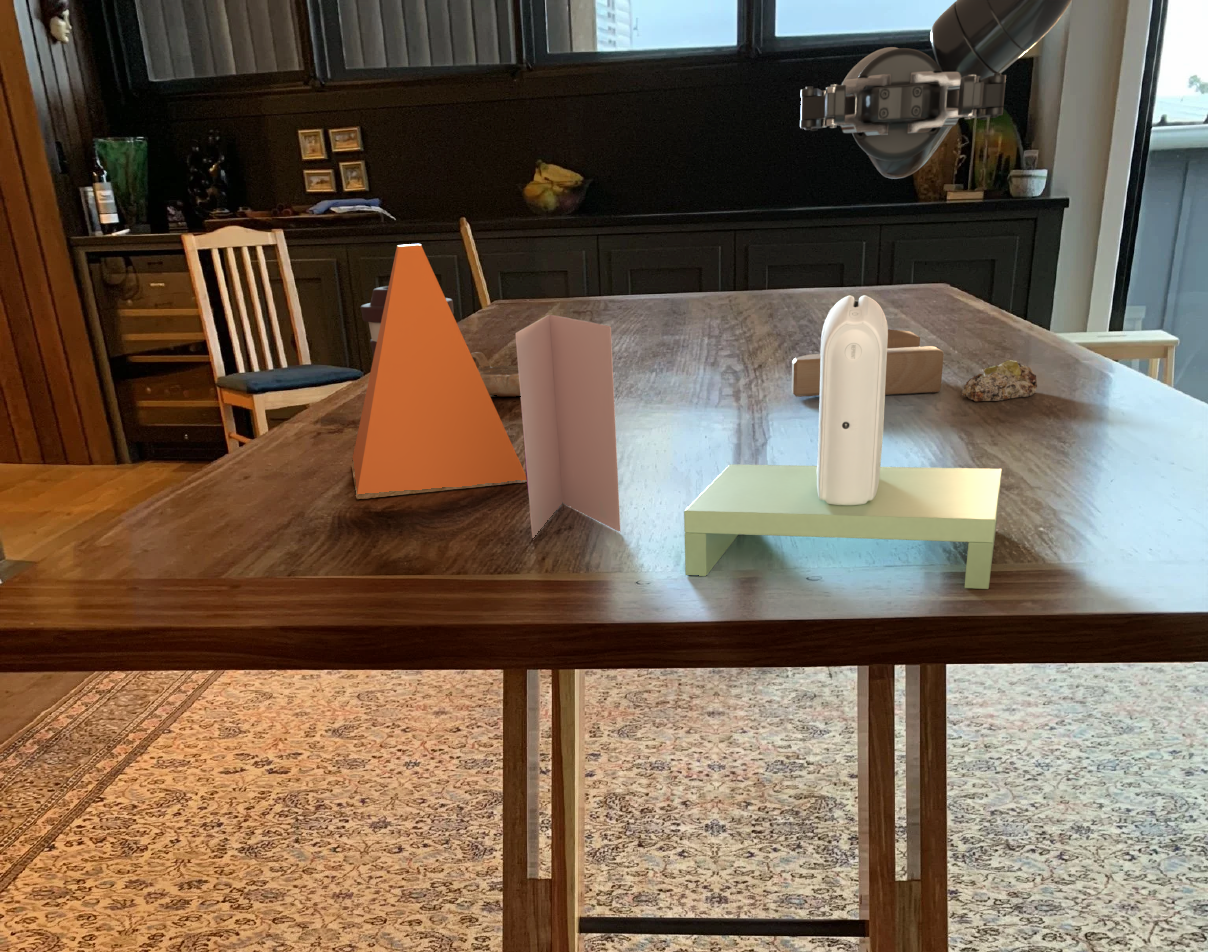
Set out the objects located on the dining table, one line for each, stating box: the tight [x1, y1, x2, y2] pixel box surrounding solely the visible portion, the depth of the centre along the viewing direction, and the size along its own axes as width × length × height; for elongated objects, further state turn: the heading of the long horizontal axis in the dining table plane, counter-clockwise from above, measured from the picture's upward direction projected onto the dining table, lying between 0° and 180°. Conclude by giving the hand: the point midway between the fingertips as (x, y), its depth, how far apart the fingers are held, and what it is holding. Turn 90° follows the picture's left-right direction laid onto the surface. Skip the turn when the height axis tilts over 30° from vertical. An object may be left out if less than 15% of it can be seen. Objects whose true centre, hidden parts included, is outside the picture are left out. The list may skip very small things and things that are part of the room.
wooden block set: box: [791, 328, 944, 398], centre depth 145 cm, size 17×6×18 cm
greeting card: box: [514, 314, 621, 539], centre depth 93 cm, size 11×7×15 cm, turn 170°
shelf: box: [683, 464, 1003, 590], centre depth 84 cm, size 20×14×4 cm
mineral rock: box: [961, 359, 1038, 402], centre depth 136 cm, size 11×4×8 cm
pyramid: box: [352, 243, 527, 494], centre depth 110 cm, size 16×16×20 cm
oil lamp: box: [470, 351, 521, 397], centre depth 153 cm, size 13×8×5 cm, turn 43°
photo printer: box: [816, 294, 889, 506], centre depth 80 cm, size 10×4×12 cm, turn 169°
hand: (903, 98), depth 81 cm, fingers open, 8 cm apart
